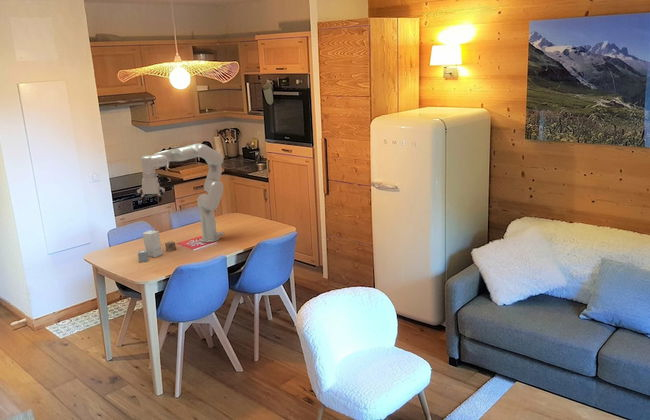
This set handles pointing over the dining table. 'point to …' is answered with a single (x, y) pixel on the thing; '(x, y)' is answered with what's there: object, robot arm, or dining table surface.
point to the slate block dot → (143, 256)
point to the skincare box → (152, 243)
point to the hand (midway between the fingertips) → (152, 202)
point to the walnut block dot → (170, 246)
